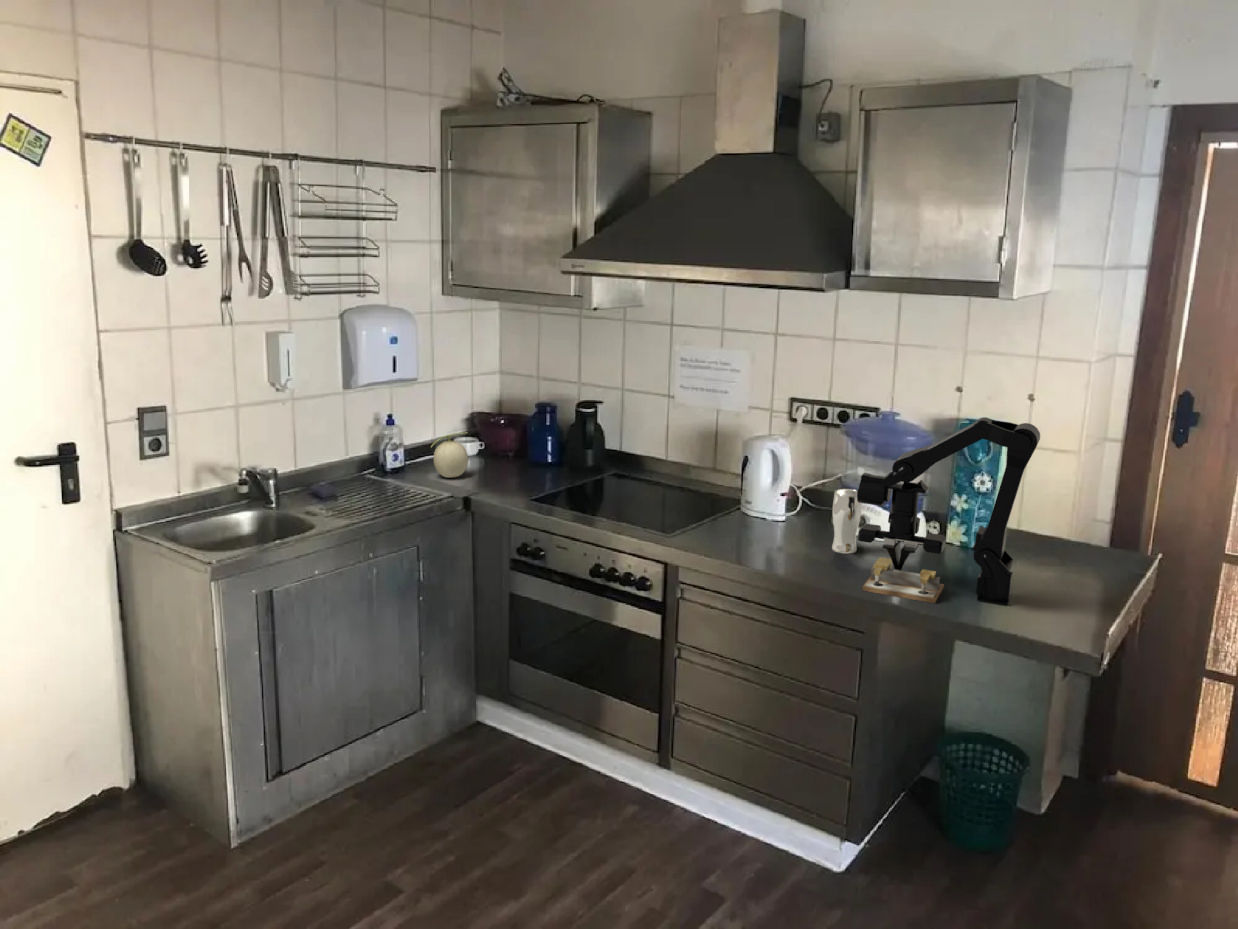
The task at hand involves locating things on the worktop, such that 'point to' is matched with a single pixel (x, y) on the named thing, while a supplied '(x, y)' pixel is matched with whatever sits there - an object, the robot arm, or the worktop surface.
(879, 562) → the slider
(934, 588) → the board
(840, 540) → the beer glass
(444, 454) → the fruit
